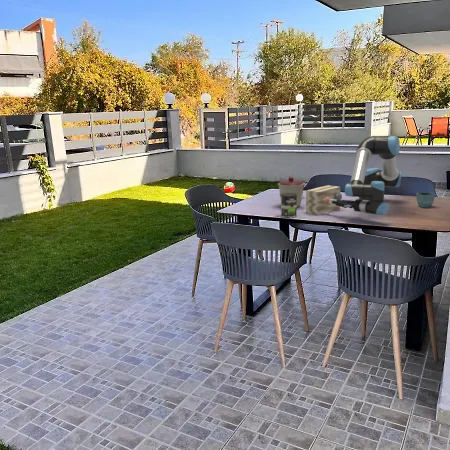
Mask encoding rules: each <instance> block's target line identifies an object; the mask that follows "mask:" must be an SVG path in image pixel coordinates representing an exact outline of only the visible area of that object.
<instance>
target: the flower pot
mask: <svg viewBox="0 0 450 450" xmlns="http://www.w3.org/2000/svg"><path fill="white" fill-rule="evenodd" d="M415 195H416V201H417V205H418V207H421V208H422V209H423V208H431V207H432V205H434V201H435V197H436V194H434V193H431V192H416V193H415Z"/></svg>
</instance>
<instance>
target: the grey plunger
mask: <svg viewBox="0 0 450 450" xmlns="http://www.w3.org/2000/svg"><path fill="white" fill-rule="evenodd" d="M342 197H343V195H342V193H341V192H340V193H337V194H336V195H334V198H335V200H343V199H342Z"/></svg>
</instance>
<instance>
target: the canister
mask: <svg viewBox="0 0 450 450" xmlns="http://www.w3.org/2000/svg"><path fill="white" fill-rule="evenodd" d="M304 183H305V182H304V181H302V180H298V179H294V176H289V177H288V179H287V180H286V179H285V180H282V181H280V182H278V183H277V185H278V191H279V197H280V200H281V194H284V193H294V194H297V208H299V207H300V206H301V203H302V199H303V198H302V197H303V194H302V192H303V193H304V189H303V185H304ZM304 186H305V185H304Z"/></svg>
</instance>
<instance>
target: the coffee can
mask: <svg viewBox="0 0 450 450" xmlns="http://www.w3.org/2000/svg"><path fill="white" fill-rule="evenodd" d="M297 208H298V207H297V194H294V193H284V194H281V199H280V217H281V216H282V218H285V217H292V218H296V217H297V216H298V215H297V214H298V213H297Z"/></svg>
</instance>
